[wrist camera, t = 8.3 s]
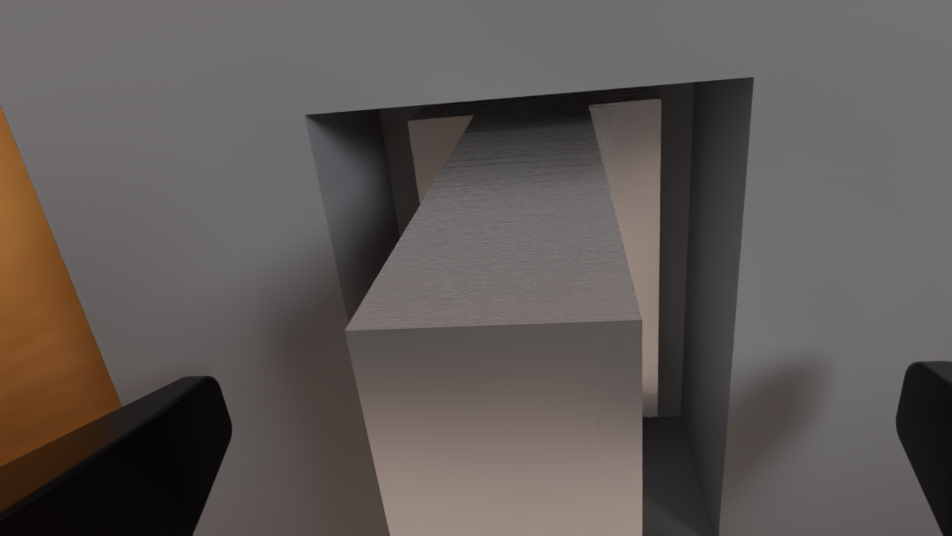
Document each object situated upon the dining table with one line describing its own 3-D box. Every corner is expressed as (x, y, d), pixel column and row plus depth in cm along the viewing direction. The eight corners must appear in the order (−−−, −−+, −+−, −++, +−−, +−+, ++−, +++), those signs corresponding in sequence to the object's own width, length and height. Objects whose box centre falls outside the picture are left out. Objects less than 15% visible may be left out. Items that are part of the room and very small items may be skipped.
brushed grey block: (650, 86, 11) (847, 313, 3) (648, 380, 13) (762, 873, 6) (421, 107, 11) (181, 336, 4) (460, 385, 14) (354, 837, 6)
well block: (1108, -329, 8) (1523, -559, 5) (899, 544, 15) (1009, 725, 11) (45, -157, 11) (-212, -225, 7) (266, 532, 17) (190, 678, 14)
